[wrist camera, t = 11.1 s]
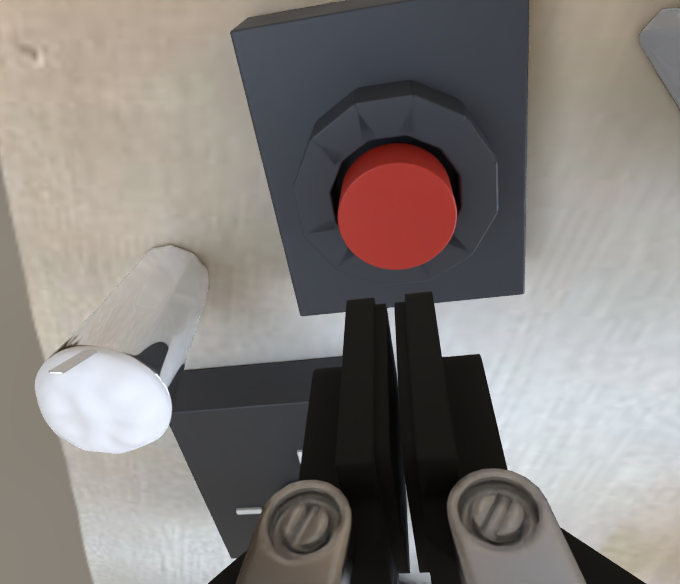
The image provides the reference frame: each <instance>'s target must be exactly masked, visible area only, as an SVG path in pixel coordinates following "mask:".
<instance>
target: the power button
mask: <svg viewBox="0 0 680 584" xmlns="http://www.w3.org/2000/svg"><path fill="white" fill-rule="evenodd" d="M456 221H457V208H456V203H455V199H454V195H453V191H452V187H451V184H450V180H449V177H448V174H447V172H446V170H445V168H444V167H443V165H442V164H441V163H440V161H439V160H438V159H437V158H436V157H435V156H433V155H432V154H431V153H429V152H428V151H426V150H425V149H423V148H420V147H418V146H415V145H412V144H406V143H389V144H384V145H380V146H377V147H374V148H372V149H370V150H368V151H367V152H365V153H364V154H362V155H361V156H360V157H358V158H357V159H356V160H355V161H354V162H353V164H352V165H351V166H350V168H349V169H348V171H347V173H346V175H345V177H344V180H343V183H342V187H341V194H340V201H339V208H338V226H339V230H340V233H341V236H342V238H343V240H344V242H345V244H346V245H347V246H348V248H349V249H350V250H351V251H352V252H353V253H354V254H355V255H356V256H357V257H359V258H360V259H361V260H363V261H365V262H366V263H368V264H371V265H373V266H376V267H379V268H383V269H391V270H400V269H408V268H413V267H416V266H419V265H421V264H424V263H426V262H427V261H429V260H431V259H432V258H434V257H435V256H436V255H438V254H439V253H440V252H441V251H442V250H443V249H444V247H445V246H446V245H447V244H448V242H449V240H450V239H451V237H452V235H453V233H454V229H455V226H456Z"/></svg>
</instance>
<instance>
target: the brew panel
mask: <svg viewBox="0 0 680 584" xmlns="http://www.w3.org/2000/svg"><path fill="white" fill-rule="evenodd" d="M342 359H343V357H336V358H325V359H313V360H302V361H291V362H280V363H268V364H257V365H246V366H235V367H223V368H212V369H201V370H190V371H183V374H182V378H181V382H180V385H179V389H178V393H177V396H176V400H175V404H174V407H173V411H172V414H171V420H170V423H169V425H170V427H171V429H172V432H173V434H174V436H175V438H176V440H177V442H178V444H179V447H180V449H181V451H182V453H183V455H184V457H185V460H186V462H187V464H188V466H189V468H190V470H191V472H192V475H193V477H194V479H195V481H196V483H197V485H198V488H199V490H200V492H201V494H202V496H203V498H204V500H205V503H206V505H207V507H208V509H209V511H210V513H211V516H212V518H213V520H214V522H215V524H216V526H217V528H218V531H219V533H220V535H221V537H222V539H223V541H224V544H225V546H226V548H227V550H228V552H229V554H230V556H231V558H238V557H240V556H241V555H242V554H243V553H244V552H245V551H247V549H248V547H249V544H250V541H251V538H252V535H253V532H254V529H255V526H256V524H257V521H258V518H259V515H260V513H261V512H262V510H263V508H264V506H265V504H266V503H267V502H268V501H269V499H270V498H271V497H272V496H273V495H274V494H275V493H276V492H278V491H279V490H281V489H282V488H283V487H285V486H287V485H288V484H291V483H293V482H296V481H299V473H300V466H301V458H302V450H303V443H304V435H305V428H306V420H307V413H308V405H309V398H310V390H311V382H312V376H313V371H314V370H315V369H318V368H329V367H340V366H342Z"/></svg>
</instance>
